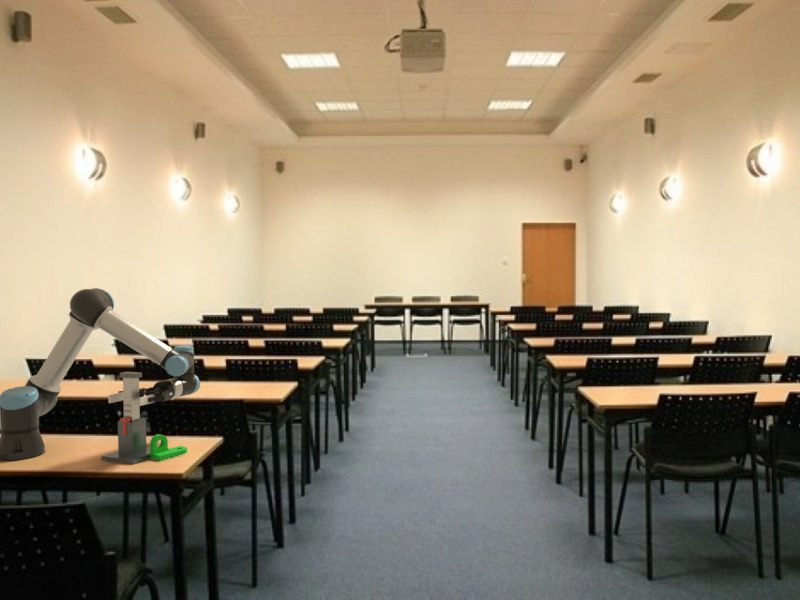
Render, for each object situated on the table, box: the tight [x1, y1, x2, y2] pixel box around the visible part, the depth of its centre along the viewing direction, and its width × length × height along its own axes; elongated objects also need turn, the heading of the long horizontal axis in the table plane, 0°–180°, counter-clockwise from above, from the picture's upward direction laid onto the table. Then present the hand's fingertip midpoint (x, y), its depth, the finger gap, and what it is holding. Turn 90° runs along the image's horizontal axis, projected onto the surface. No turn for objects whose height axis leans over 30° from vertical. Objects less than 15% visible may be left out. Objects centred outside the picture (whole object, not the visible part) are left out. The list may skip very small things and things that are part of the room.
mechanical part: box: [149, 433, 188, 462], centre depth 221 cm, size 12×6×8 cm, turn 142°
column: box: [119, 371, 143, 422], centre depth 220 cm, size 7×4×28 cm, turn 70°
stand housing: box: [100, 417, 151, 465], centre depth 220 cm, size 14×14×14 cm
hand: (124, 400), depth 216 cm, fingers open, 13 cm apart
